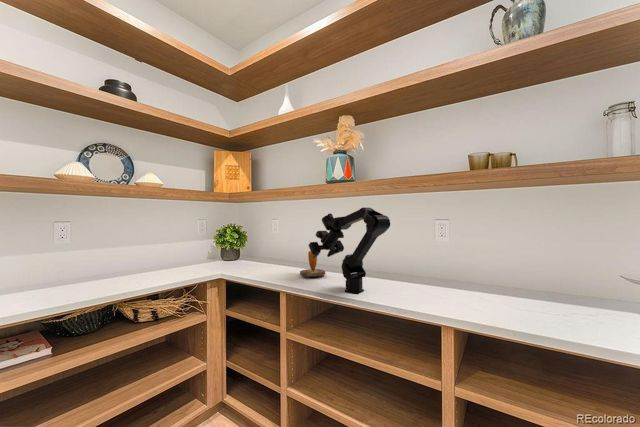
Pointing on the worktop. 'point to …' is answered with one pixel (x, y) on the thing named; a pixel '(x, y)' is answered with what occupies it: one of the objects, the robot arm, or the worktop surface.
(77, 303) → the worktop surface
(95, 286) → the worktop surface
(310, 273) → the walnut base
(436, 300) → the worktop surface
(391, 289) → the worktop surface
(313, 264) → the carrot
